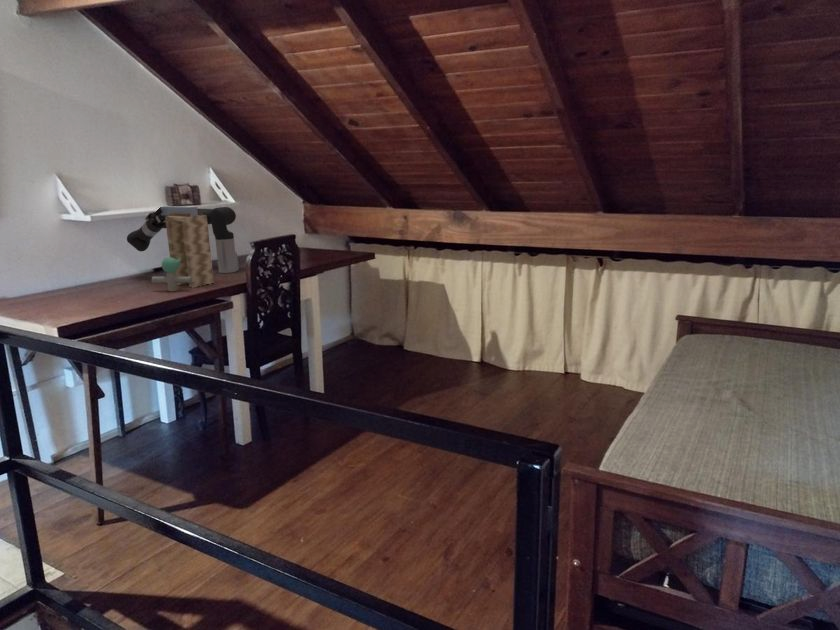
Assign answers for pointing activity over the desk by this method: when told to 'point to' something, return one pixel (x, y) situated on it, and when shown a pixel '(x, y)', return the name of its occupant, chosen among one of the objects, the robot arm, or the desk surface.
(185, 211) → the bar
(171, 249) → the zigzag patterned block
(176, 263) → the toy
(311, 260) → the desk surface
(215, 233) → the robot arm
